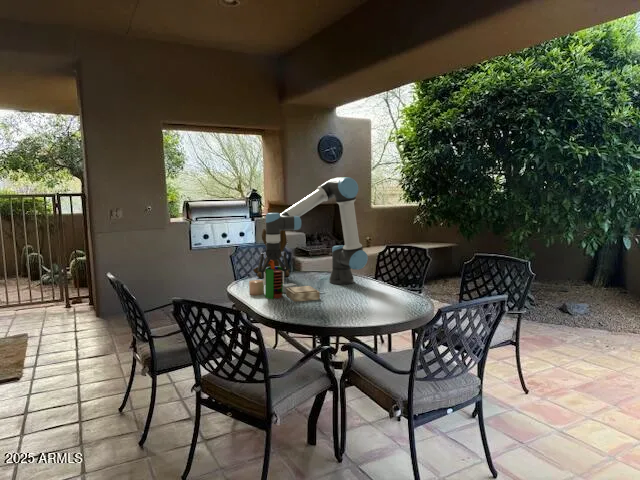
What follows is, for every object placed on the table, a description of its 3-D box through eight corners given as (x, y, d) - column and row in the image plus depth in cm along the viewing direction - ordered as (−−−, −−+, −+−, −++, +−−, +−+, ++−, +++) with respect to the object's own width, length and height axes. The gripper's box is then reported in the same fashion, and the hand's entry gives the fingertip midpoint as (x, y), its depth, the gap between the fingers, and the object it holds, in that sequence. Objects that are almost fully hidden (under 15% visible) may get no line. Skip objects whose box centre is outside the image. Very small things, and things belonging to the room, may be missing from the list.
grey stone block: (291, 290, 250) (291, 283, 249) (296, 291, 246) (296, 284, 245) (280, 292, 244) (280, 285, 244) (285, 293, 241) (285, 286, 240)
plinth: (310, 293, 240) (310, 285, 240) (319, 299, 227) (319, 290, 227) (286, 295, 235) (286, 287, 235) (294, 301, 222) (294, 292, 222)
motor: (279, 299, 227) (278, 261, 225) (262, 298, 229) (262, 261, 227) (284, 294, 237) (284, 258, 235) (268, 294, 239) (268, 258, 236)
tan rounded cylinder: (262, 291, 245) (262, 279, 244) (265, 294, 237) (265, 282, 237) (248, 292, 242) (247, 280, 241) (251, 296, 234) (250, 283, 234)
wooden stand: (301, 274, 295) (301, 223, 291) (268, 280, 274) (267, 225, 270) (274, 269, 315) (274, 220, 311) (241, 274, 295) (240, 223, 291)
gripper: (291, 240, 237) (291, 280, 239) (251, 242, 229) (251, 283, 232) (295, 242, 230) (295, 283, 233) (254, 243, 222) (254, 286, 225)
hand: (273, 283), depth 232 cm, fingers open, 9 cm apart
